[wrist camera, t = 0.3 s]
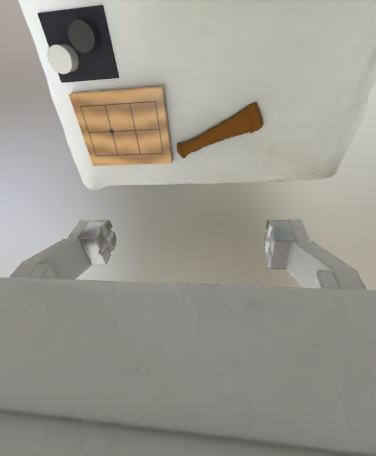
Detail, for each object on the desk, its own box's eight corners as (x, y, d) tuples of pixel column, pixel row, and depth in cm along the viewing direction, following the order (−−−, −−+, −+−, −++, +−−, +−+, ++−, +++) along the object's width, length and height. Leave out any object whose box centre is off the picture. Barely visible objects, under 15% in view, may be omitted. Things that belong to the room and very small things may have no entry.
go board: (72, 92, 53) (68, 94, 52) (163, 85, 50) (161, 87, 49) (96, 162, 63) (93, 165, 62) (172, 160, 60) (171, 163, 59)
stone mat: (38, 13, 45) (37, 13, 45) (102, 5, 43) (102, 5, 43) (62, 82, 52) (61, 82, 52) (118, 77, 50) (118, 77, 50)
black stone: (72, 21, 45) (64, 21, 43) (96, 18, 44) (89, 18, 42) (81, 52, 48) (73, 53, 46) (103, 50, 47) (97, 51, 45)
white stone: (51, 45, 48) (43, 45, 45) (73, 42, 47) (66, 43, 45) (61, 72, 51) (53, 75, 48) (82, 70, 50) (75, 73, 48)
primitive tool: (256, 101, 50) (258, 105, 47) (264, 126, 53) (266, 131, 50) (175, 142, 57) (172, 148, 55) (186, 162, 60) (184, 168, 58)
